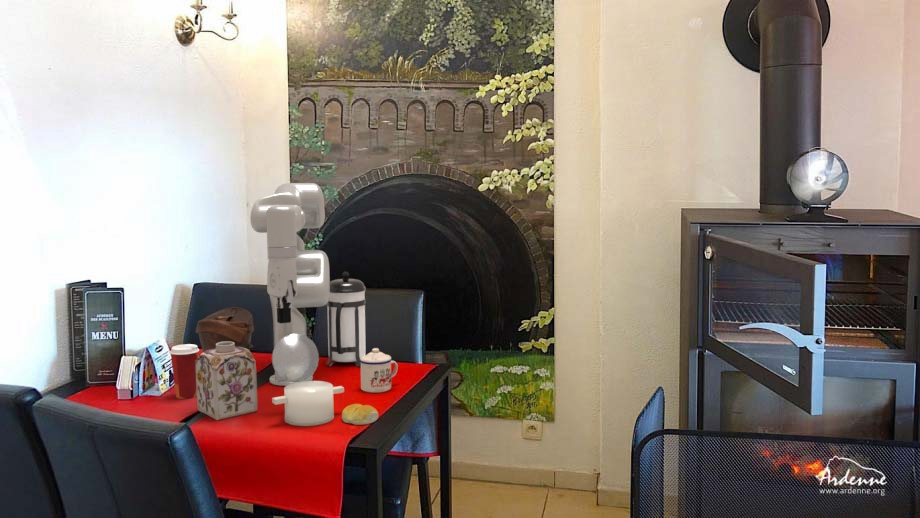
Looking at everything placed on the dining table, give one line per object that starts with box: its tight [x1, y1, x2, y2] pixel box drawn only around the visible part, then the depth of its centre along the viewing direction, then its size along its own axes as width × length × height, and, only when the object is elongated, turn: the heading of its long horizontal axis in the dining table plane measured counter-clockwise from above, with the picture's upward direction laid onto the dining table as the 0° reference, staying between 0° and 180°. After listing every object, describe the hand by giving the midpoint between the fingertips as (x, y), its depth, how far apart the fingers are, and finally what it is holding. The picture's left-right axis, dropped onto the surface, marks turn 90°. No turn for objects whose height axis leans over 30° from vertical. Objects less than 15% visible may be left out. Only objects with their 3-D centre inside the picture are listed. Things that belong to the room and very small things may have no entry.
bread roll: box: [341, 403, 379, 426], centre depth 189 cm, size 8×9×4 cm
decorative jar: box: [196, 341, 258, 421], centre depth 195 cm, size 12×12×18 cm
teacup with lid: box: [360, 347, 399, 394], centre depth 217 cm, size 12×9×12 cm
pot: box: [271, 380, 345, 427], centre depth 190 cm, size 12×18×8 cm, turn 125°
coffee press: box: [326, 271, 367, 368], centre depth 244 cm, size 17×16×30 cm
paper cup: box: [169, 343, 200, 400], centre depth 209 cm, size 8×8×14 cm
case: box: [195, 306, 255, 353], centre depth 242 cm, size 18×20×18 cm
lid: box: [271, 334, 320, 382], centre depth 196 cm, size 12×12×2 cm
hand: (284, 322), depth 200 cm, fingers closed
